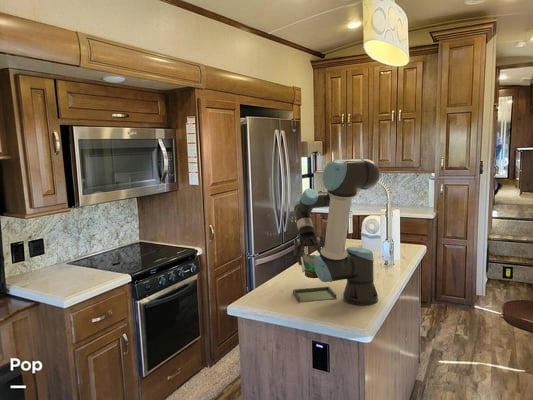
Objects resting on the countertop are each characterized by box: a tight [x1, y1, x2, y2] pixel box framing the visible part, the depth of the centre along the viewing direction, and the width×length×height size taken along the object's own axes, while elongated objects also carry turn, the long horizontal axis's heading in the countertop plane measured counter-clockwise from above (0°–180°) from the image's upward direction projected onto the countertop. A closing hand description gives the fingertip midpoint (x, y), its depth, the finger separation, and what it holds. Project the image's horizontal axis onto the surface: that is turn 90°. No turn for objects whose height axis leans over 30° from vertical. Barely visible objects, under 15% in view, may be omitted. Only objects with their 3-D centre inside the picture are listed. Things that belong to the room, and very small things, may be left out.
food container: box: [301, 251, 319, 279], centre depth 189 cm, size 12×6×10 cm, turn 50°
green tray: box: [292, 286, 338, 303], centre depth 190 cm, size 12×18×2 cm, turn 98°
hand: (314, 270), depth 186 cm, fingers closed on food container, 9 cm apart
